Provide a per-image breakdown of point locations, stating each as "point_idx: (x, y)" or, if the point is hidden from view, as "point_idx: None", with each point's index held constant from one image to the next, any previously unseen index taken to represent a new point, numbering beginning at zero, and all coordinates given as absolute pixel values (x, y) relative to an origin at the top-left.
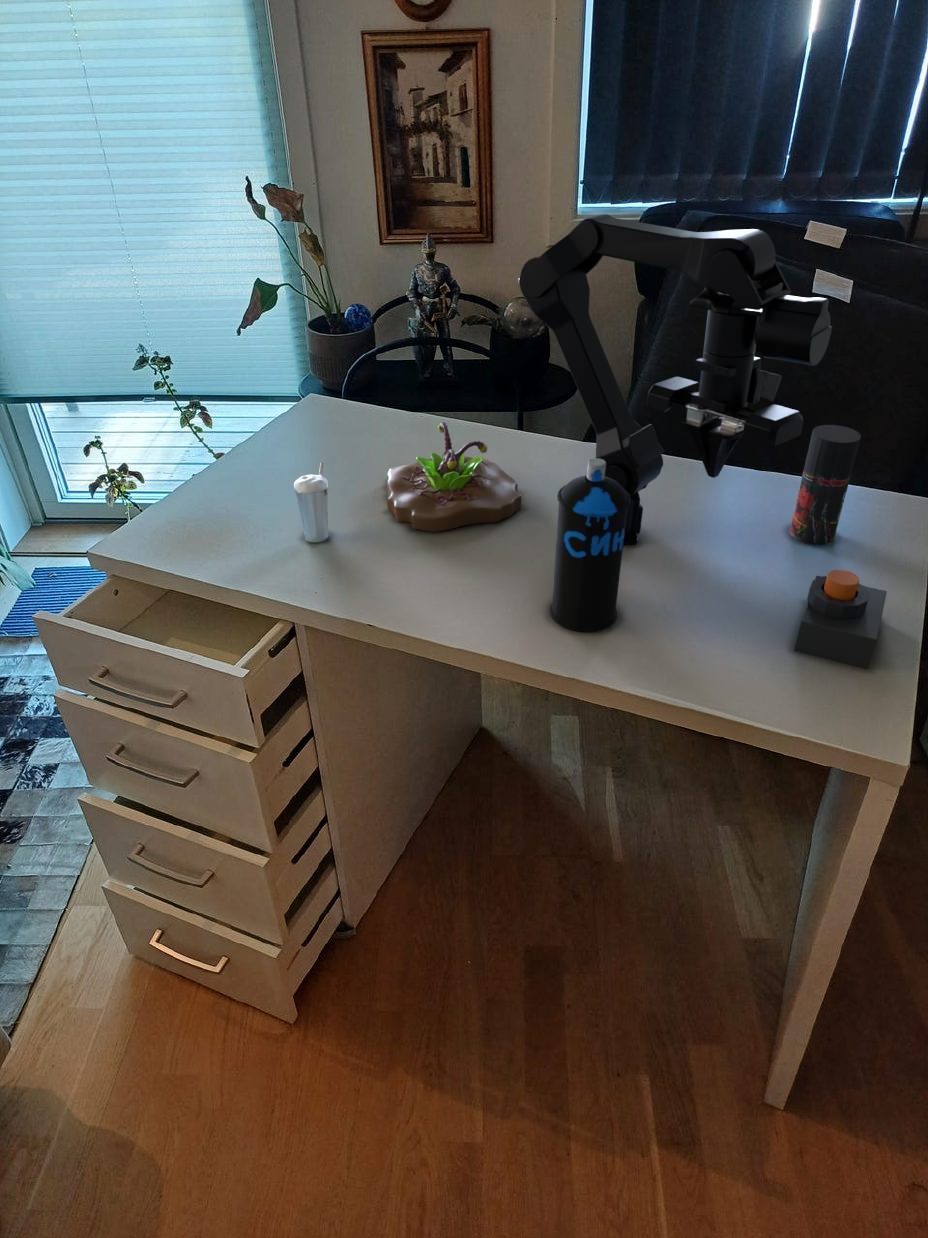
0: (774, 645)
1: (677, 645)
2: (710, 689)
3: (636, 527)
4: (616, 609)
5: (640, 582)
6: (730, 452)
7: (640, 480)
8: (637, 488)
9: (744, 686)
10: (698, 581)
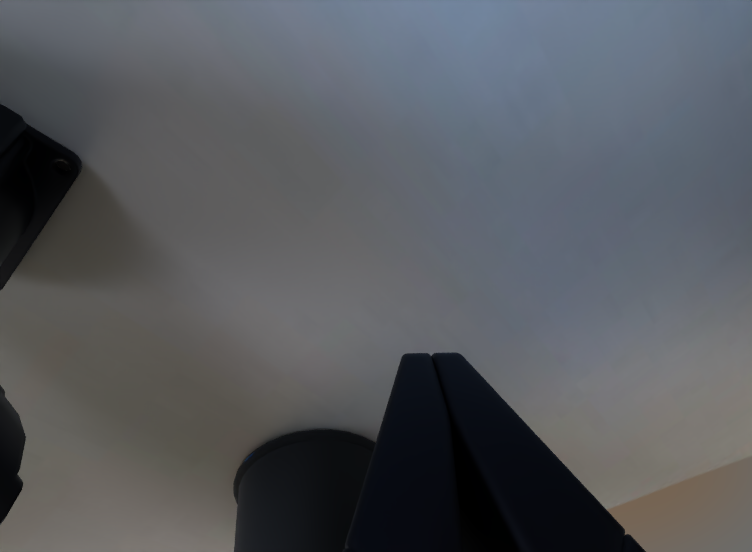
0: (746, 264)
1: (547, 414)
2: (665, 450)
3: (12, 155)
4: (365, 442)
5: (300, 314)
6: (625, 536)
7: (8, 470)
8: (24, 435)
9: (721, 406)
10: (422, 178)
